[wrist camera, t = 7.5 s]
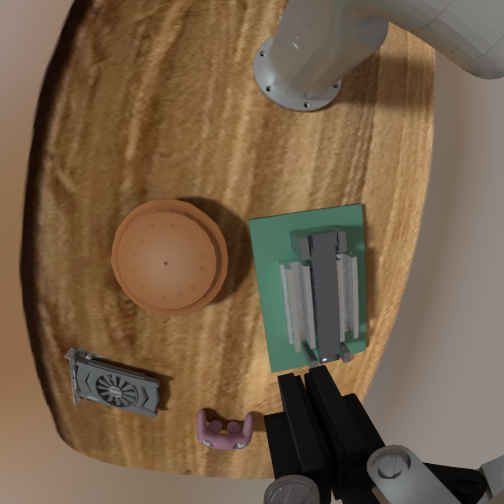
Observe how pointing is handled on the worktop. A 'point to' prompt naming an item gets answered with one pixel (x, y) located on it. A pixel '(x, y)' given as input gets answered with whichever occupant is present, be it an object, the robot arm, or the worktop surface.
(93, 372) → the graphics card
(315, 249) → the grey lever rod
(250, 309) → the worktop surface
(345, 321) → the heat sink
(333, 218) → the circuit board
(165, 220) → the pie
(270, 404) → the worktop surface
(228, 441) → the video game controller
